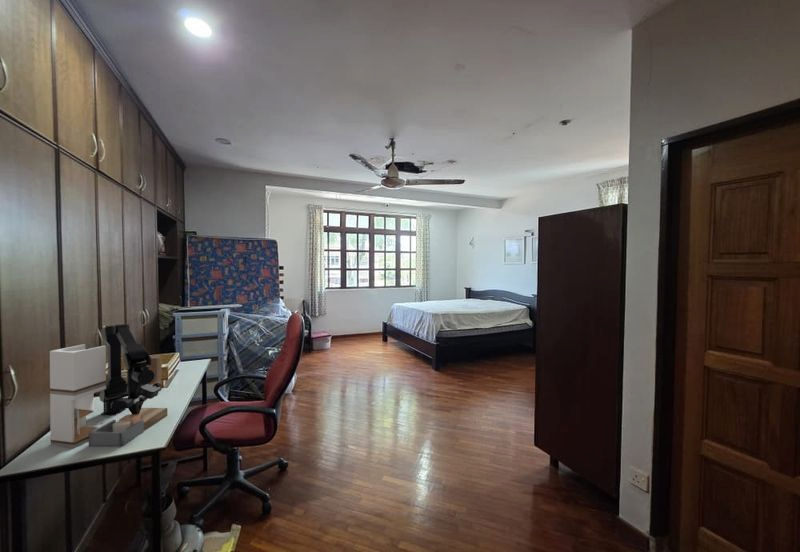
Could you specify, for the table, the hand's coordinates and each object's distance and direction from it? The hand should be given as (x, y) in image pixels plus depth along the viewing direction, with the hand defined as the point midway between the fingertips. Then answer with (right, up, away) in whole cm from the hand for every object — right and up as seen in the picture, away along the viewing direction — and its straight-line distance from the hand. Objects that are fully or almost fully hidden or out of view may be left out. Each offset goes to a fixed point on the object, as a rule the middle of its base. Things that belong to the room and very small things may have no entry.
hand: (136, 417), depth 141 cm
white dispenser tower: (-14, -5, -10) cm, 18 cm away
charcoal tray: (0, -5, -9) cm, 10 cm away
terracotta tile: (0, -1, -4) cm, 4 cm away
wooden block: (-22, -3, +39) cm, 45 cm away
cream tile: (0, -2, -6) cm, 6 cm away
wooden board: (0, -4, +4) cm, 6 cm away
